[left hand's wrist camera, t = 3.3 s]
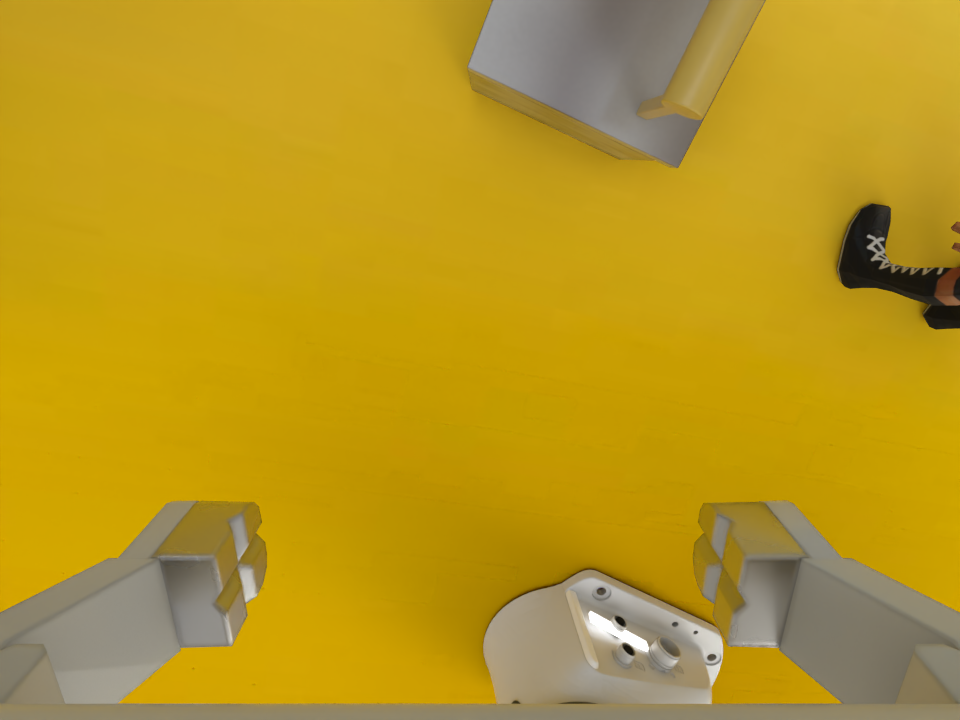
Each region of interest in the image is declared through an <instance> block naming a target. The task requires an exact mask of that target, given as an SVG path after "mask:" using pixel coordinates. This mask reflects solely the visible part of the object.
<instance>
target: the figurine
mask: <svg viewBox="0 0 960 720" xmlns="http://www.w3.org/2000/svg"><path fill="white" fill-rule="evenodd" d="M890 219H891V208H890V207H889V206H884V205H878V204H869V205H867V206H865V207H864V208H862V209H861V210H859V211H858V213H857V214H856V216H855V217H854V219H853V220H852V221H851V223H850V224H849V227H848V229H847V232H846V235H845V237H844V240H843V245H842V249H841V254H840V258H839V263H838V267H837V271H838V275H839V279H840V281H841V283H842V284H843V285H844V286H845V287H847V288H850V289H852V288H879V289H883V290H888V291H892V292H895V293H898V294H900V295H903V296H906V297H908V298H911V299H914V300H917V301H920V302H924V303H927V304H930V305H929V306H928V307H927V309H926V310H925V311H924V312H923V316H924V318H925V320H926V322H927V323H928V325H929V327H931V328H934V329H952V328H960V267H958V268H913V267H904V266H900V265H896V264H891V263H890V261H889V260H888V258H887V256H886V255H885V242H886V239H887V236H888V231H889V226H890ZM951 229H952V230H953V231H955V232H957V233H959V234H960V222H956V223H955V224H954V225H953V226H952V227H951ZM952 249H954V250H956V251H958V252H960V243H954V245H953V247H952Z"/></svg>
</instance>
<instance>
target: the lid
mask: <svg viewBox="0 0 960 720" xmlns="http://www.w3.org/2000/svg"><path fill="white" fill-rule="evenodd" d="M765 1H766V0H492V3H491V6H490V8H489V11H488V14H487V16H486V19H485V21H484V24H483V27H482V29H481V32H480V35H479V37H478V40H477V42H476V45H475V48H474V50H473V53H472V56H471V58H470V61H469V63H468V66H467V67H468V71H469V72H471V73H474V74H476V75H478V76H480V77H482V78H484V79H486V80H488V81H490V82H492V83H494V84H497V85H499V86H501V87H503V88H505V89H507V90H509V91H511V92H513V93H515V94H517V95H520V96H522V97H524V98H526V99H528V100H530V101H532V102H534V103H536V104H538V105H540V106H543V107H545V108H547V109H549V110H551V111H553V112H555V113H557V114H559V115H561V116H563V117H565V118H568V119H570V120H572V121H574V122H576V123H578V124H580V125H582V126H584V127H586V128H588V129H591V130H593V131H595V132H597V133H599V134H601V135H603V136H605V137H607V138H609V139H611V140H614V141H616V142H618V143H620V144H622V145H624V146H626V147H628V148H630V149H632V150H634V151H637V152H639V153H641V154H643V155H645V156H647V157H649V158H651V159H653V160H655V161H657V162H660V163H662V164H664V165H666V166H668V167H670V168H678V167H679V165H680V163H681V161H682V159H683V158H684V156H685V154H686V152H687V150H688V148H689V146H690V144H691V142H692V140H693V138H694V136H695V135H696V133H697V131H698V129H699V127H700V125H701V123H702V121H703V119H704V117H705V115H706V114H707V112H708V110H709V108H710V106H711V104H712V102H713V100H714V98H715V96H716V94H717V92H718V91H719V89H720V87H721V85H722V83H723V81H724V79H725V77H726V75H727V73H728V71H729V69H730V68H731V66H732V64H733V62H734V60H735V58H736V56H737V54H738V52H739V50H740V48H741V47H742V45H743V43H744V41H745V39H746V37H747V35H748V33H749V31H750V29H751V27H752V25H753V24H754V22H755V20H756V18H757V16H758V14H759V12H760V10H761V8H762V6H763V4H764V2H765Z"/></svg>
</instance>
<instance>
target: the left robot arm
mask: <svg viewBox="0 0 960 720" xmlns="http://www.w3.org/2000/svg"><path fill="white" fill-rule="evenodd" d="M261 523H262V520H261V515H260V510H259V506H258V505H257V504H256V503H254V502H225V501H200V502H199V501H173V502H169V503H167V504H166V505H165V506H164V507H163V508H162V509H161V510H160V512H159V513H158V514H157V515H156V516H155V517H154V518H153V519H152V521H151V522H150V523H149V524H148V525H147V526H146V527H145V528H144V529H143V531H142V532H141V533H140V534H139V535H138V536H137V537H136V538H135V540H134V541H133V542H132V543H131V544H130V545H129V546H128V547H127V549H126V550H125V551H124V552H123V553H122V554H121V555H120V556H119V558H108V559H106V560H104V561H102V562H100V563H98V564H96V565H94V566H92V567H90V568H88V569H86V570H84V571H82V572H80V573H78V574H76V575H74V576H72V577H70V578H68V579H66V580H64V581H62V582H60V583H58V584H56V585H54V586H52V587H50V588H48V589H46V590H44V591H42V592H40V593H38V594H36V595H34V596H32V597H30V598H28V599H26V600H24V601H22V602H20V603H18V604H16V605H14V606H12V607H10V608H8V609H6V610H4V611H2V612H0V720H960V613H959V612H957V611H955V610H953V609H951V608H949V607H947V606H945V605H943V604H941V603H939V602H937V601H935V600H933V599H931V598H929V597H927V596H925V595H923V594H921V593H919V592H917V591H915V590H913V589H911V588H909V587H907V586H905V585H903V584H901V583H899V582H897V581H895V580H893V579H891V578H889V577H887V576H885V575H883V574H881V573H879V572H878V571H876V570H874V569H872V568H870V567H868V566H866V565H864V564H862V563H860V562H858V561H856V560H854V559H852V558H841V556H840V555H839V554H838V553H837V552H836V551H835V550H834V549H833V547H832V546H831V545H830V544H829V543H828V542H827V541H826V540H825V538H824V537H823V536H822V535H821V534H820V533H819V532H818V531H817V529H816V528H815V527H814V526H813V525H812V524H811V523H810V522H809V521H808V519H807V518H806V517H805V516H804V515H803V514H802V513H801V512H800V510H799V509H798V508H797V507H796V506H795V505H794V504H793V503H791V502H789V501H787V500H786V501H759V502H726V503H703V505H702V507H701V509H700V514H699V519H698V523H699V525H700V526H701V528H702V530H703V532H704V534H703V535H702V536H701V537H700V538H699V539H698V540H697V541H696V542H695V545H694V553H693V565H694V574H695V577H696V581H697V584H698V587H699V589H700V591H701V593H702V595H703V596H704V597H705V598H707V599H708V600H710V601H711V602H712V603H714V610H713V617H714V619H715V621H716V623H717V625H718V627H719V629H720V631H721V633H722V635H723V637H724V639H725V641H726V643H727V645H728V646H741V647H776V648H780V649H779V650H780V651H781V652H782V653H783V654H785V655H786V656H787V657H788V658H789V659H791V660H792V661H793V662H794V663H795V664H797V665H798V666H799V667H800V668H801V669H802V670H804V671H805V672H806V673H807V674H808V675H810V676H811V677H812V678H813V679H814V680H816V681H817V682H818V683H819V684H820V685H821V686H823V687H824V688H825V689H826V690H827V691H829V692H830V693H831V694H832V695H833V696H835V697H836V698H837V699H838V700H839V701H840V702H842V703H843V704H711V703H712V689H711V687H712V685H713V683H714V682H715V679H716V677H717V675H718V672H719V670H720V666H721V663H722V658H723V643H722V638H721V635H720V632H719V630H718V628H717V627H715V626H713V625H711V624H709V623H707V622H705V621H703V620H701V619H699V618H697V617H694V616H692V615H690V614H688V613H686V612H684V611H682V610H679V609H677V608H675V607H673V606H671V605H669V604H667V603H664V602H662V601H660V600H658V599H656V598H654V597H652V596H650V595H647V594H645V593H643V592H641V591H639V590H637V589H635V588H632V587H630V586H628V585H626V584H624V583H622V582H620V581H617V580H615V579H613V578H611V577H609V576H607V575H605V574H602V573H600V572H598V571H596V570H584V571H581V572H579V573H577V574H575V575H574V576H572V577H570V578H569V579H567V580H566V581H564V582H563V583H561V584H558V585H555V586H552V587H548V588H543V589H539V590H535V591H532V592H529V593H527V594H524V595H522V596H520V597H518V598H516V599H515V600H513V601H511V602H510V603H509V604H507V605H506V606H505V607H503V608H502V609H501V610H500V611H499V612H498V613H497V614H496V616H495V617H494V618H493V620H492V621H491V623H490V624H489V626H488V628H487V631H486V634H485V637H484V643H483V652H484V658H485V662H486V664H487V667H488V669H489V672H490V675H491V679H492V683H493V686H494V691H495V696H496V702H497V704H117V703H118V702H120V701H121V700H122V699H123V698H124V697H126V696H127V695H128V694H129V693H130V692H132V691H133V690H134V689H135V688H136V687H138V686H139V685H140V684H141V683H142V682H143V681H145V680H146V679H147V678H148V677H149V676H151V675H152V674H153V673H154V672H155V671H157V670H158V669H159V668H160V667H161V666H163V665H164V664H165V663H166V662H167V661H169V660H170V659H171V658H172V657H173V656H174V655H176V654H177V653H178V652H179V651H180V650H181V649H180V648H184V647H218V646H232V645H233V643H234V641H235V639H236V637H237V635H238V633H239V631H240V629H241V627H242V625H243V623H244V621H245V619H246V617H247V609H246V603H248V602H249V601H250V600H252V599H253V598H255V597H256V596H257V595H258V593H259V591H260V589H261V587H262V584H263V581H264V577H265V572H266V568H267V551H266V544H265V542H264V541H263V540H262V539H261V538H260V537H259V536H258V535H257V534H256V532H257V530H258V528H259V526H260V525H261ZM598 588H603V589H600V590H599V589H598Z"/></svg>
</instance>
